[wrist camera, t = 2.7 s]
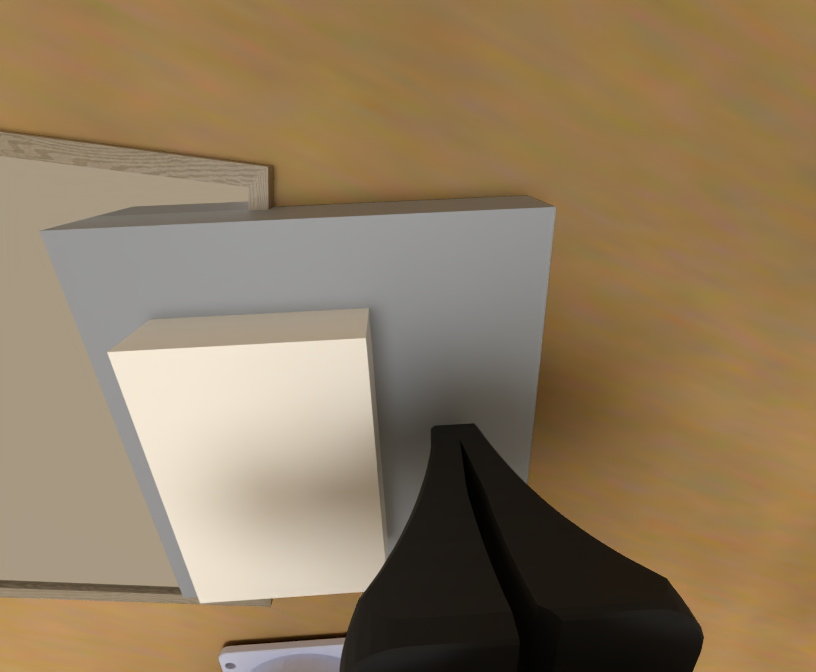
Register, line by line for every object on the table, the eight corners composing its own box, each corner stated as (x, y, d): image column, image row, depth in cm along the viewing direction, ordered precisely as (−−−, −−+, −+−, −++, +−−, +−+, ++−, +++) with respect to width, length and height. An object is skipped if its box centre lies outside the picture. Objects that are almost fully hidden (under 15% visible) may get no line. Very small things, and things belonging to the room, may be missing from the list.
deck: (502, 523, 19) (518, 574, 17) (208, 542, 19) (183, 598, 17) (526, 195, 13) (556, 206, 11) (100, 214, 13) (39, 230, 11)
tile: (387, 537, 16) (387, 590, 14) (221, 549, 16) (200, 603, 14) (368, 307, 12) (365, 338, 10) (150, 319, 12) (107, 352, 10)
